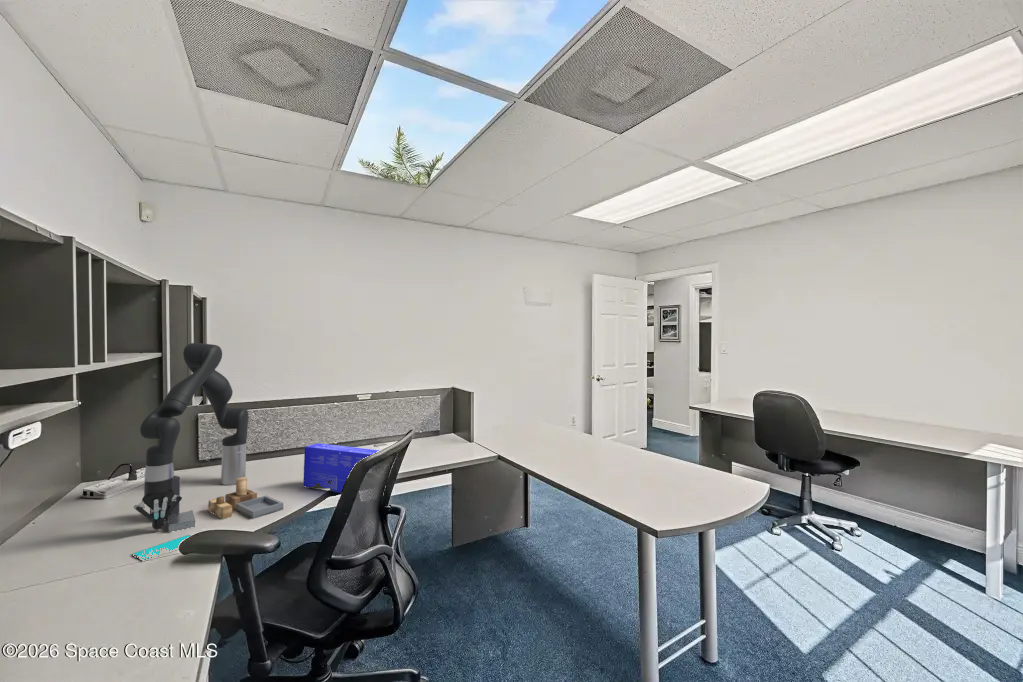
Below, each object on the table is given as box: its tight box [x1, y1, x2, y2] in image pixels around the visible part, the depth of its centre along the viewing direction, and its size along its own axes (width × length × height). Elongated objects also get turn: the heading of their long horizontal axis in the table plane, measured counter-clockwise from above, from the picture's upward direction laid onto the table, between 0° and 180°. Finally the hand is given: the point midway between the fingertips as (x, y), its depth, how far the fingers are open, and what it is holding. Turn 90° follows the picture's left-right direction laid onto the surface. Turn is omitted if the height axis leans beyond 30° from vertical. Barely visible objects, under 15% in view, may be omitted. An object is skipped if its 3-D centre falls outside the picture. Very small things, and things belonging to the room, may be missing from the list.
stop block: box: [207, 496, 233, 520], centre depth 158 cm, size 12×3×6 cm, turn 56°
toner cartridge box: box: [302, 442, 380, 494], centre depth 186 cm, size 39×8×18 cm, turn 71°
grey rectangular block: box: [167, 510, 196, 533], centre depth 148 cm, size 10×7×3 cm
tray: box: [235, 495, 284, 520], centre depth 163 cm, size 13×11×2 cm
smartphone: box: [131, 534, 191, 560], centre depth 132 cm, size 7×1×15 cm
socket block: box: [224, 488, 258, 510], centre depth 168 cm, size 8×8×4 cm
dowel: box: [235, 476, 248, 497], centre depth 168 cm, size 4×4×10 cm
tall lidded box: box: [149, 475, 181, 521], centre depth 154 cm, size 11×4×15 cm, turn 71°
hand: (157, 528), depth 143 cm, fingers closed
